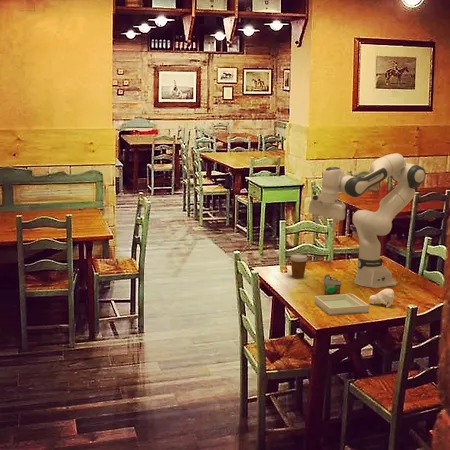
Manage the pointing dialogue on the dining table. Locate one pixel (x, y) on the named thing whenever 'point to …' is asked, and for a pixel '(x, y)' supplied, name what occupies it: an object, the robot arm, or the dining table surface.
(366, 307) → the walled box
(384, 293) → the white animal figurine
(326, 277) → the food container
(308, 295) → the dining table surface
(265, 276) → the dining table surface
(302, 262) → the disposable coffee cup
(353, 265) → the dining table surface
